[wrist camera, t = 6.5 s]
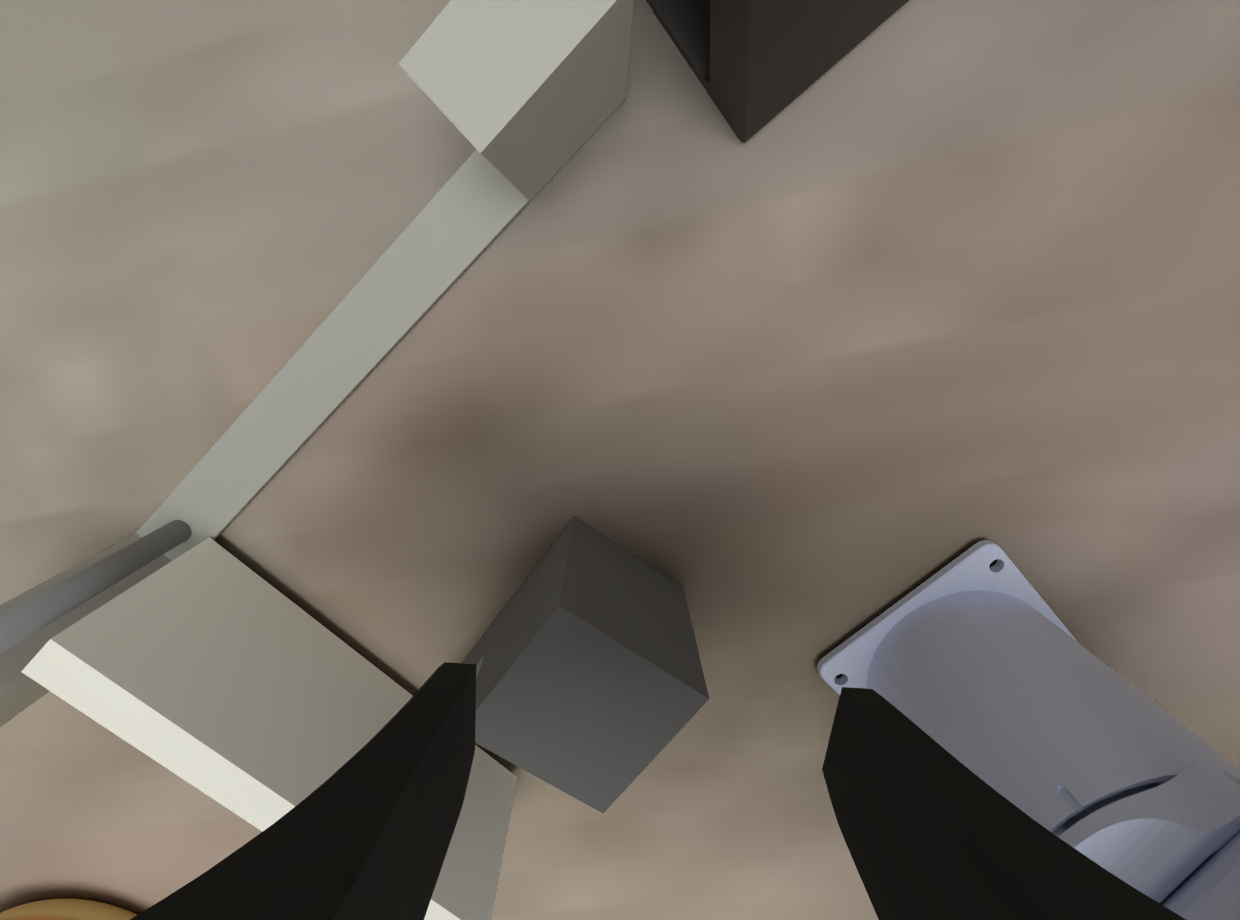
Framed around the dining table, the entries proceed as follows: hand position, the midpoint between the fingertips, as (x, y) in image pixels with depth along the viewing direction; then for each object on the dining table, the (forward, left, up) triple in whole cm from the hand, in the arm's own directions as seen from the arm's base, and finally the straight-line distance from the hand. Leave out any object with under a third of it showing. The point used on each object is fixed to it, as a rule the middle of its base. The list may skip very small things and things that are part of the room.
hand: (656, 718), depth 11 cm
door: (+3, +13, -9) cm, 16 cm away
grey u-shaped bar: (+11, +4, -10) cm, 15 cm away
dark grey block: (-2, +5, -10) cm, 11 cm away
